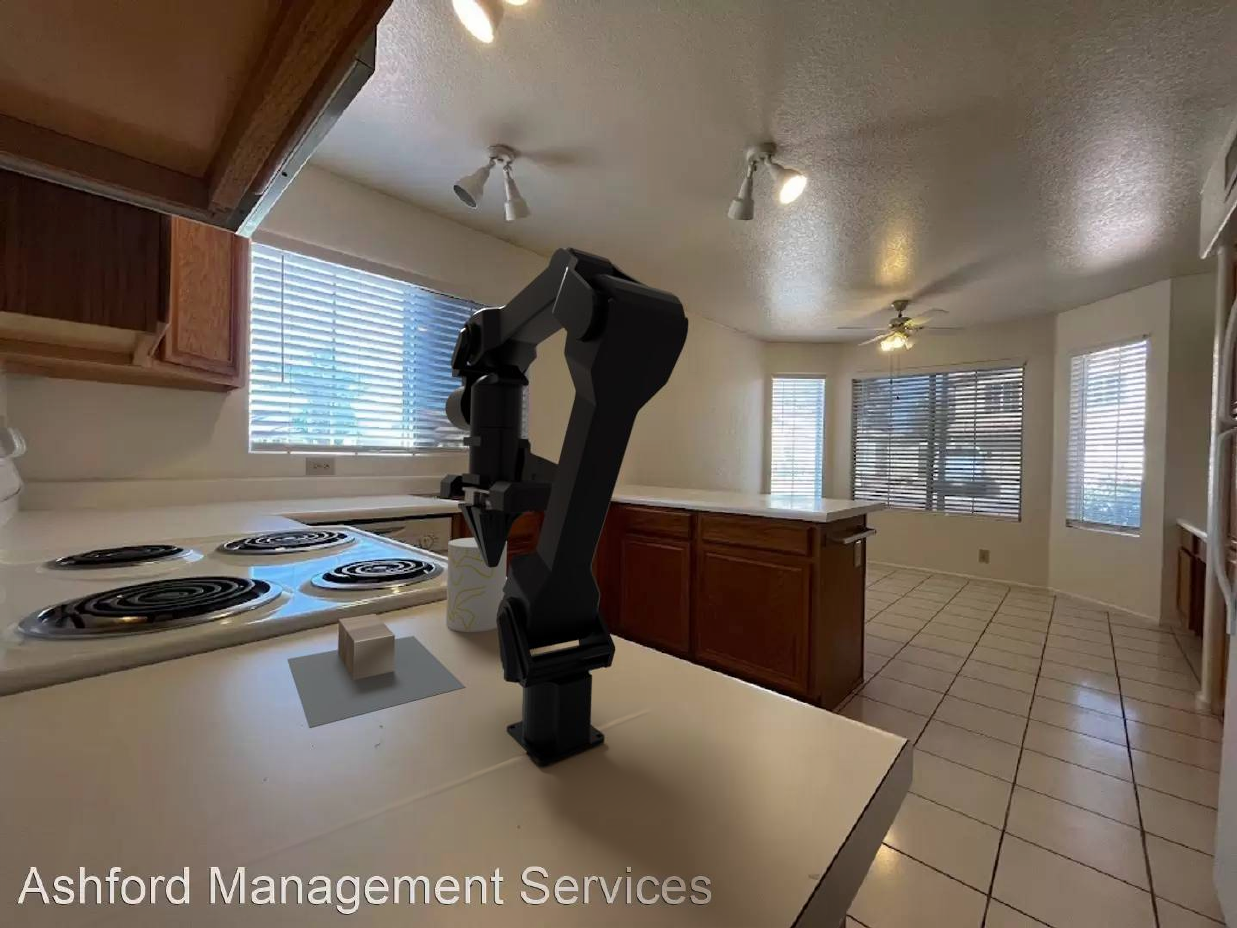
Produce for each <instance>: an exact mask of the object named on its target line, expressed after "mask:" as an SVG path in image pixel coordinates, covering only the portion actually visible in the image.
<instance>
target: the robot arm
mask: <svg viewBox="0 0 1237 928" xmlns="http://www.w3.org/2000/svg"><path fill="white" fill-rule="evenodd" d="M689 325H690V323H689V318H688V317H687V316H686V314H685V310H684V306H683V303H682V302H681V300H680V299H679V297H678V296H676V295H675V294H674V293H673V292H669V291H666V290H663V289H660V288H656V287H653V286H652V287H651V286H648V285H647V284H645V283H643V282H641V280H638V279H636V278H635V277H633V276H631V275H629V274H627V273H625V272H624V271H623V270H622V269H621V268H620V267H618V265H617V264H615V263H613V262H612V261H611V260H610V259H609V258H607V257H604V256H600V255H597V254H594V253H590V252H587V251H583V250H581V249H577V248H574V247H570V246H567V247H566V248H562V247H561V248H558V249H556V250H555V252H553V254H552V256H551V258H550V261H549V264H548V266H547V267H545V269H544V270H543V271H542V272H540V273H539V275H537V276H536V277H535V278H534V279H533V280H532V281H531V282H529V283H528V284H527V285H526V286H525V287H524V288H523V289H521V291H519V292H518V293H517V295H516V296H514V297H513V298H512V299H511V300H510V301H508V302H507V304H505V305H503V306H499V307H485V308H482V309H479V310H478V311H476V312H474V313H473V314H472V315H470V317H469V319H468V321H466V322H465V323H463V326H462V329H461V331H459V333H458V337H457V340H456V342H455V346H454V349H453V352H452V355H451V359H450V362H449V363H450V365H451V369H452V370H451V371H452V372H451V377H452V378H457V379H461V386H460V387H457V388H456V389H455V390H453V391H452V392H451V393H450V394H449V396H448V397H447V399H446V402H445V404H444V405H445V406H444V407H445V409H444V410H445V415H446V417H447V419H448V421H449V422H450V424H452V425H453V427H455V428H457V429H459V430H461V431H463V432H464V431H465V432H469V436H463V437H462V439H463V440H462V446H463V447H468V448H469V449H468V450H469V451H468V453H469V454H468V472H462V473H461V474H459V473H457V474H456V473H455V474H454V473H451V474H450V473H448V474H446V475H445V476H444V477H443V478H442V479H441V481H440V482H439V483H440V487H439V489H440V491H439V497H442V498H446V499H453V497H464V502H463V503H462V502H459V503H457V507H458V509H460V511H461V513H462V515H463V518H464V519H465V521H466V524H467V525H468V528H469V530H470V532H471V535H472V538H474V539H475V541H476V543H477V546H478V548H479V550H480V553H481V555H482V557H483V560H484V562H485V564H486V566H488V567H490V568H491V567H497V566H498V564H499V561H500V558H501V556H502V553H503V550H504V547H505V544H506V541H507V542H508V538H509V536H510V532H511V531H512V528H513V525H514V524H515V522H516V521H517V520H518V519H519V518H520V517H522V516H523V514H525V513H529V512H530V511H532V512H533V511H545V515H544V516H543V517H544V518H543V522H542V526H541V530H540V534H539V538H538V542H537V546H536V548H535V549H534V550H533V551H532V552H526V553H525V552H524V553H515V554H514V555H513V557H512V558H511V560H510V562H509V565H508V571H507V576H506V584H505V586H504V587H503V592H504V596H503V599H502V600H501V602H500V604H499V607H498V612H497V618H496V623H497V628H496V629H497V635H498V644H499V656H500V662H501V666H502V669H503V680H504V681H506V682H508V683H515V684H518V685H520V686H521V687H522V707H521V708H522V709H521V717H522V719H521V720H520V721H517V722H514V723H512V724H509V725H507V726H506V732H507V734H509V735H510V737H512V739H514V740H515V741H516V742H517V744H518V745H520V746H521V747H522V749H524V750H525V752H526V754H527V756H529V757H530V758H531V760H533V761H534V762H535V763H536V764H537V765H538V766H541V767H545V766H548V765H551V764H553V763H556V762H559V761H561V760H563V759H566V758H568V757H570V756H571V757H572V756H573V755H576V754H578V753H581V752H583V751H586V750H588V749H591V748H594V747H596V746H598V745H601V744H603V743H604V742H605V739H606V738H605V736H606V735H605V734H604V733H603V732H602V731H600V730H599V729H598V728H596V727H595V726H593V724H591V723H592V722H591V721H592V698H593V697H592V696H593V695H592V694H593V693H592V692H593V675H592V674H591V673H590V672H591V671H595V670H599V669H602V668H605V669H607V668H610V667H612V664H613V661H614V656H615V653H616V645H615V643H614V641H613V638H612V634H611V633H610V631H609V629H608V626H607V624H606V621H605V619H604V616H603V614H602V611H601V609H600V606H599V604H600V598H601V590H600V588H599V585H598V582H597V580H596V579H597V578H596V576H595V575H594V571H593V568H592V565H593V562H594V559H595V555H596V552H597V547H598V543H599V541H600V537H601V535H602V531H603V529H604V528H603V527H604V525H605V520H606V518H607V516H608V515H607V514H608V512H609V508H610V504H611V503H612V498H613V495H614V491H615V488H616V484H617V483H618V478H619V475H620V471H621V468H622V465H623V461H624V458H625V456H626V451H627V449H628V445H629V441H630V438H631V435H632V431H633V428H634V426H635V422H636V418H637V416H638V413H639V411H640V410H641V409H642V408H643V407H645V405H646V404H647V403H648V402H649V401H651V400H652V398H654V396H656V395H657V394H658V393H659V392H660V391H661V390H662V389H663V388H664V387H665V386H666V384H667V383H668V382H669V380H670V378H671V376H672V374H673V371H674V370H675V367H676V364H677V363H678V361H679V358H680V356H681V354H682V352H683V350H684V347H685V344H686V342H687V339H688V333H689ZM562 329H564V330H565V332H566V338H565V343H564V344H565V345H564V349H563V354H564V358H565V363H566V365H567V368H568V371H569V375H570V378H571V380H572V384H573V387H574V390H575V393H574V400H573V404H572V407H571V412H570V415H569V418H568V424H567V427H566V430H565V436H564V438H563V439H564V440H563V443H562V447H561V451H560V454H559V460H558V462H557V463H556V462H554V461H552V460H549V459H547V458H544V457H541V456H539V455H537V454H534V453H533V452H532V450H531V449H532V444H531V442H530V441H529V440H530V439H529V438H522V437H523V436H522V435H523V432H522V431H523V406H524V405H523V404H524V403H523V402H524V387H525V388H526V387H528V386H529V383H530V381H529V379H528V377H527V376H526V375H525V374H526V373H527V371H528V369H529V367H530V365H532V363H533V362H534V361H535V360H536V359H537V357H538V350H537V349H538V348H537V347H538V345H540V344H542V342H544V341H546V340H547V339H549V338H550V337H552V335H554V334H556V333H557V332H559V331H560V330H562ZM575 641H578V645H573V646H568V647H562V648H558V649H553V650H549V651H545V652H544V651H543V652H540V653H535V654H532V652H531V651H532V650H536V649H537V650H538V649H541V648H542V649H543V648H546V647H551V646H556V645H561V644H566V643H569V642H570V643H571V642H575Z"/></svg>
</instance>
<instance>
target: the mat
mask: <svg viewBox="0 0 1237 928" xmlns="http://www.w3.org/2000/svg"><path fill="white" fill-rule="evenodd" d="M287 663H288V665H289V669H290V670H291V674H292V679H293V681H294V684H295V687H296V690H297V694H298V695H299V699H300V703H301V705H302V708H303V711H304V716H305V718H306V721H307V724H308V727H309V728H308V729H312V728H315V727H319V726H322V725H327V724H330V723H331V724H332V723H334V722H335V723H336V722H338V721H341V720H346V719H349V718H353V717H357V716H361V715H362V716H363V715H365V714H369V713H372V712H377V711H380V710H383V709H388V708H391V707H392V708H393V707H396V706H399V705H404V704H407V703H410V702H415V701H419V700H422V699H426V698H430V697H434V696H438V695H442V694H445V693H449V692H453V691H457V690H460V689H465V688H466V686H465V684H463V683H462V682H461V681H460V679H458V678H457V677H456V676H455V675H454V674H453V673H452V672H451V671H450V670H449V669H448V668H447V667H446V666H445V665H444V664H443V663H442V662H441V661H440V660H439V659H438V658H437V657H436V656H434V654H433V653H432V652H431V651H429V649H427V647H425V646H424V644H423V643H421V642H420V640H418V639H417V638H416V636H414V635H409V636H405V637H399V638H395V648H394V671H392V672H388V673H383V674H379V675H374V676H369V677H365V678H360V679H356V680H354V679H353V678H352V676H351V674H350V672H349V671H348V669H347V667H346V666H345V664H344V662H343V660H342V659H341V657H340V655H339V653H338V649H336V650H330V651H324V652H319V653H313V654H307V655H301V656H297V657H291V658H287Z"/></svg>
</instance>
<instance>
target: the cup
mask: <svg viewBox="0 0 1237 928" xmlns="http://www.w3.org/2000/svg"><path fill="white" fill-rule="evenodd" d="M447 543H448V548H447V550H448V551H447V575H446V576H447V581H446V615H445V617H446V618H445V625H446V627H447V628H448V629H450V630H453V631H457V632H463V633H474V632H475V633H478V632H485V631H486V632H487V631H490V630H495V629H498V628H497V623H496V618H497V612H498V607H499V604H500V602H501V600H502V599H503V596H504V592H503V587H504V586H505V584H506V581H507V556H508V555H507V552H508V540H507V541H506V544H505V547H504V550H503V553H502V556H501V558H500V561H499V564H498V566H497V567H491V568H490V567H488V566H486V564H485V562H484V560H483V557H482V555H481V553H480V550H479V548H478V546H477V543H476V541H475V539H474V537H464V538H457V539H452V540H450V541H448V542H447Z"/></svg>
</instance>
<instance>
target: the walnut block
mask: <svg viewBox="0 0 1237 928" xmlns="http://www.w3.org/2000/svg"><path fill="white" fill-rule="evenodd" d="M337 638H338V639H337V640H338V643H337V650H338V653H339V655H340V657H341V659H342V660H343V662H344V664H345V666H346V667H347V669H348V671H349V672H350V674H351V676H352V678H353V679H354V680H356V679H360V678H365V677H369V676H374V675H379V674H383V673H388V672H392V671H394V648H395V639H396V636H395V633H393V631H392V630H391V629H390V628H389V626H387V625H386V624H385V623H384V621H382V620H381V618H380V617H379V616H378V615H377V614H376V613H371V614H365V615H358V616H351V617H345V618H339V619H338V637H337Z"/></svg>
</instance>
